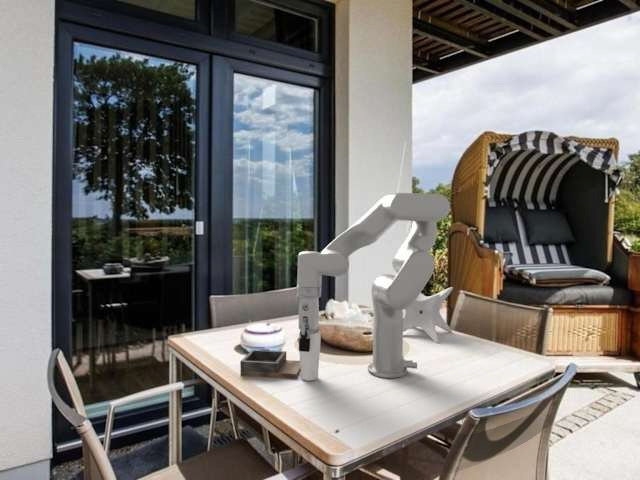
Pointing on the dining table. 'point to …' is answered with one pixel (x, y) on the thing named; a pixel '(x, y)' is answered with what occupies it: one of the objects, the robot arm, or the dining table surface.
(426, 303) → the grey spiky star shape
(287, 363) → the open box
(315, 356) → the white cup
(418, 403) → the dining table surface
